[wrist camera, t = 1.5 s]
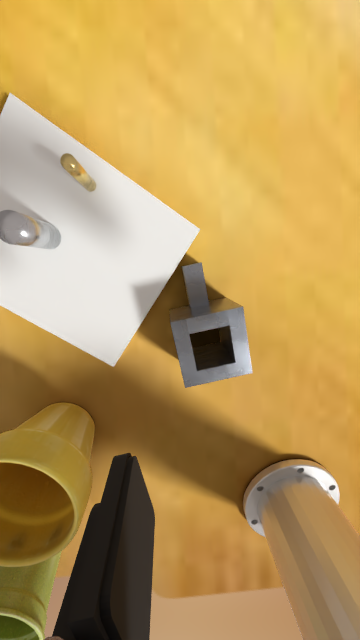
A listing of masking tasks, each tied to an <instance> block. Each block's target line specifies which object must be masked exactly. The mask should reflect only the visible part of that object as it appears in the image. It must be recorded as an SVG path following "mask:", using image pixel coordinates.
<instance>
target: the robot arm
mask: <svg viewBox="0 0 360 640" xmlns="http://www.w3.org/2000/svg"><path fill="white" fill-rule="evenodd" d="M339 494H340V493H339V488H338V485H337V483H336V481H335V479H334V478H333V476H332V475H331V474H330V473H329V471H328V470H326V469H325V468H324V467H323V466H321V465H320V464H318V463H316V462H313V461H309V460H303V459H291V460H286V461H281V462H278V463H275V464H273V465H271V466H269V467H267V468H265V469H264V470H263V471H261V472H260V473H259V474H257V475H256V477H255V478H254V479H253V480H252V481H251V482H250V484H249V485H248V487H247V489H246V491H245V494H244V499H243V509H244V512H245V516H246V519H247V521H248V523H249V525H250V526H251V527H252V528H253V530H254V531H256V532H257V533H258V534H260V535H262V536H264V537H266V539H267V542H268V545H269V547H270V550H271V553H272V556H273V558H274V561H275V564H276V567H277V569H278V572H279V575H280V578H281V580H282V583H283V586H284V589H285V591H286V594H287V596H288V599H289V602H290V605H291V608H292V610H293V613H294V616H295V618H296V621H297V624H298V627H299V630H300V632H301V635H302V638H303V640H360V535H359V534H358V532H357V531H356V529H355V528H354V527H353V525H352V524H351V522H350V521H349V520H348V518H347V517H346V515H345V514H344V513H343V511H342V510H341V508H340V507H339V506H338V503H339ZM154 527H155V515H154V509H153V506H152V503H151V500H150V497H149V494H148V491H147V488H146V485H145V482H144V478H143V475H142V472H141V469H140V466H139V463H138V460H137V457H136V456H133V457H132V456H131V454H130V453H126V454H122V455H118V456H114V458H113V460H112V464H111V467H110V471H109V475H108V478H107V482H106V485H105V489H104V492H103V496H102V500H101V503H97V504H95V505H94V506H93V508H92V510H91V512H90V515H89V519H88V522H87V525H86V528H85V531H84V535H83V538H82V541H81V544H80V548H79V551H78V554H77V557H76V560H75V564H74V567H73V570H72V573H71V577H70V580H69V583H68V586H67V590H66V593H65V596H64V599H63V603H62V606H61V609H60V612H59V615H58V619H57V622H56V625H55V629H54V631H53V635H52V637H47V638H45V639H44V640H149V633H150V611H151V591H152V570H153V549H154Z"/></svg>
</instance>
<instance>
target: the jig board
mask: <svg viewBox="0 0 360 640" xmlns="http://www.w3.org/2000/svg"><path fill="white" fill-rule="evenodd" d="M65 153H69V154H71V155H73V156H74V158H75V159H76V160H77V161H78V162H79V164H80V165H81V166H82V167H83V168H84V169H85V171H86V172H87V173H88V174H89V175H90V176H91V178H92V179H93V180H94V181H95V183H96V189H95V190H94V191H92V192H90V191H87V190H86V189H85V188H84V187H83V186H82V185H81V184H80V183H79V182H78V181H77V180H76V179H75V178H74V177H73V176H71V175H70V174H69V173H68V172H67V171H66V170H65V169H64V168H63V167H62V165H61V163H60V159H61V156H62V155H63V154H65ZM3 210H13V211H16V212H19V213H21V214H24V215H27V216H30V217H33V218H36V219H38V220H41V221H44V222H47V223H50V224H52V225H54V226H55V227H57V229H58V230H59V232H60V234H61V242H60V244H59V246H58V247H56V248H55V249H43V248H35V247H28V246H20V245H13V244H8V243H6V242H4V241H2V240H1V239H0V306H2V307H4V308H6V309H8V310H10V311H12V312H13V313H15V314H17V315H19V316H21V317H23V318H24V319H26V320H28V321H30V322H32V323H34V324H35V325H37V326H39V327H41V328H43V329H45V330H47V331H48V332H50V333H52V334H54V335H56V336H58V337H59V338H61V339H63V340H65V341H67V342H69V343H70V344H72V345H74V346H76V347H78V348H80V349H81V350H83V351H85V352H87V353H89V354H91V355H93V356H94V357H96V358H98V359H100V360H102V361H104V362H105V363H107V364H109V365H111V366H113V367H114V366H115V364H116V362H117V361H118V359H119V358H120V356H121V354H122V353H123V351H124V350H125V348H126V347H127V345H128V343H129V342H130V340H131V339H132V337H133V335H134V334H135V332H136V331H137V329H138V328H139V326H140V324H141V323H142V321H143V320H144V318H145V316H146V315H147V313H148V312H149V310H150V308H151V307H152V305H153V304H154V302H155V301H156V299H157V297H158V296H159V294H160V293H161V291H162V289H163V288H164V286H165V285H166V283H167V282H168V280H169V278H170V277H171V275H172V274H173V272H174V270H175V269H176V267H177V266H178V264H179V262H180V261H181V259H182V258H183V256H184V255H185V253H186V251H187V250H188V248H189V247H190V245H191V243H192V242H193V240H194V239H195V237H196V236H197V234H198V232H199V231H200V229H199V228H197V227H196V226H195V225H193V224H192V223H191V222H189V221H188V220H186V219H185V218H184V217H182V216H181V215H179V214H178V213H177V212H175V211H174V210H172V209H171V208H170V207H168V206H167V205H165V204H164V203H163V202H161V201H160V200H159V199H157V198H156V197H154V196H153V195H152V194H150V193H149V192H147V191H146V190H145V189H143V188H142V187H140V186H139V185H138V184H136V183H135V182H133V181H132V180H131V179H129V178H128V177H127V176H125V175H124V174H122V173H121V172H120V171H118V170H117V169H115V168H114V167H113V166H111V165H110V164H108V163H107V162H106V161H104V160H103V159H101V158H100V157H99V156H97V155H96V154H95V153H93V152H92V151H90V150H89V149H88V148H86V147H85V146H83V145H82V144H81V143H79V142H78V141H76V140H75V139H74V138H72V137H71V136H69V135H68V134H67V133H65V132H64V131H63V130H61V129H60V128H58V127H57V126H56V125H54V124H53V123H51V122H50V121H49V120H47V119H46V118H44V117H43V116H42V115H40V114H39V113H37V112H36V111H35V110H33V109H32V108H31V107H29V106H28V105H26V104H25V103H24V102H22V101H21V100H19V99H18V98H17V97H15V96H14V95H12V94H11V93H9V96H8V98H7V100H6V103H5V105H4V108H3V110H2V112H1V115H0V211H3Z"/></svg>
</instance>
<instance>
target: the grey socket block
mask: <svg viewBox="0 0 360 640" xmlns="http://www.w3.org/2000/svg"><path fill="white" fill-rule="evenodd" d="M181 268H182V273H183V278H184V283H185V288H186V292H187V297H188V302H189V305H188V306H183V307H178V308H174V309H169V311H170V324H171V328H172V332H173V337H174V341H175V345H176V350H177V354H178V359H179V363H180V367H181V372H182V376H183V380H184V385H185V388H186V387H191V386H196V385H200V384H205V383H209V382H214V381H218V380H223V379H227V378H232V377H236V376H241V375H245V374H250V373H252V366H251V359H250V352H249V345H248V338H247V331H246V324H245V317H244V310H243V306H241V305H239V304H237V303H235V302H234V301H232V300H230V299H228V298H226V297H224V298H220V299H215V300H210V301H208V295H207V290H206V284H205V279H204V273H203V268H202V263H195V264H191V265H186V266H181ZM215 328H218V329H219V334H220V340H221V342H216V343H212V344H207V345H203V346H198V347H194V348H192V345H191V340H190V336H189V334H192V333H197V332H201V331H206V330H210V329H215Z"/></svg>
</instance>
